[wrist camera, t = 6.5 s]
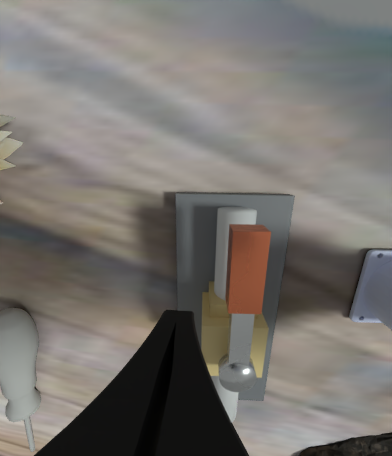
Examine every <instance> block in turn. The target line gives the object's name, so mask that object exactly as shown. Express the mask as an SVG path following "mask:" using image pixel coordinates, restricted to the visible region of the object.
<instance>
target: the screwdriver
mask: <svg viewBox="0 0 392 456" xmlns="http://www.w3.org/2000/svg"><path fill="white" fill-rule="evenodd" d="M38 346H39V338H38V332H37V328H36V325H35V323H34V321H33V319H32V318H31V317H30V315H29V314H28V313H27V312H26V311H24V310H22V309H19V308H6V309H3V310H0V386H1V390H2V394H3V395H4V397H5V398H7V399H8V403H7V405H6V413H5V414H6V417H7V418H8V419H9V421H12V422H17V421H23V420H24V423H25V428H26V433H27V438H28V443H29V448H30V451H31V452H33V451H34V450H35V443H34V438H33V432H32V427H31V422H30V416H31V415H32V414H34V413H35V411H36V410H37V409H38V408H39V406H40V403H41V395H40V392H39V391H38V390H36V389H35V384H36V381H37V377H36V369H35V364H36V357H37V350H38Z"/></svg>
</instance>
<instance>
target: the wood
mask: <svg viewBox="0 0 392 456" xmlns="http://www.w3.org/2000/svg"><path fill="white" fill-rule="evenodd" d="M300 456H392V433H386V434H381V435H376V436H366V437H357V438H350V439H348V440H345V441H343V442H339V443H337V444H334V445H326V446H319V447H312V448H308V449H306V450H304V451H302V452H301V454H300Z"/></svg>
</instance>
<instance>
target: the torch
mask: <svg viewBox="0 0 392 456" xmlns="http://www.w3.org/2000/svg"><path fill="white" fill-rule="evenodd" d="M13 119H15V118H14V117H9V116H4V115H0V127H1V126H3V125H4V124H6V123H8V122H10V121H11V120H13ZM11 133H12V132H8V131H0V170H3V169H7V168H11V167H16V166H15V165H13V164H11V163H9V162H7V161H5V160H4V159H6V158H7V157H8V156H9V155H10V154H12V153H13V152H14V151H15V150H17V149H18V148H19V147H20V146H22V143H23V142H20V141H17V140H14V139H11V138H7V136H8V135H9V134H11ZM1 204H3V201H2V200H1V199H0V205H1Z"/></svg>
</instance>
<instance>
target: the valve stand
mask: <svg viewBox="0 0 392 456" xmlns="http://www.w3.org/2000/svg"><path fill="white" fill-rule="evenodd" d="M294 197H295V196H293V195H289V194H241V193H179V192H177V193H176V253H177V311H192V312H193V313H194V321H195V328H196V332H197V336H198V340H199V344H200V347H201V350H202V354H203V357H204V359H205V362H206V365H207V368H208V370H209V373H210V376H211V378H212V381H213V383H214V386H215V388H216V390H217V392H218V395H219V397H220V399H221V402H222V404H223V406H224V408H225V410H226V412H227V414H228V416H229V418H230V420H231V422H233V421H234V419H235V417H236V413H237V403H238V400H256V401H263V400H264V394H265V387H266V381H267V374H268V368H269V361H270V355H271V348H272V341H273V335H274V328H275V322H276V315H277V309H278V302H279V296H280V289H281V282H282V276H283V269H284V263H285V256H286V250H287V243H288V237H289V230H290V224H291V217H292V210H293V204H294ZM229 224H252V225H264V226H265V227H266V228H267V229H268V230H269V231H271V237H270V245H269V254H268V262H267V271H266V279H265V288H264V296H263V304H262V313H261V314H255V316H254V325H253V334H252V344H251V353H250V358H251V359H252V361H253V365H254V368H255V372H256V376H257V380H256V383H255V385H254V386H253V387H252V388H250V389H249V390H247V391H244V392H232V391H229V390H227V389H225V388H224V387H223V386H222V385H221V384H220V381H219V371H218V362H219V359H220V358H221V357H222V356H223V355H224V354H226V353H227V344H228V328H229V313H228V310H227V305H226V299H225V293H226V275H227V257H228V239H229Z"/></svg>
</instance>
